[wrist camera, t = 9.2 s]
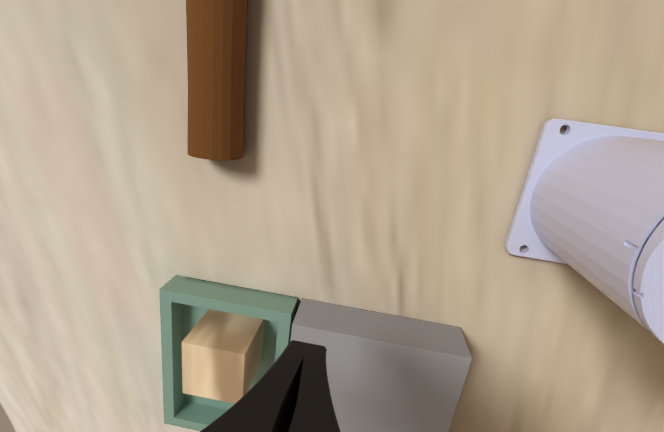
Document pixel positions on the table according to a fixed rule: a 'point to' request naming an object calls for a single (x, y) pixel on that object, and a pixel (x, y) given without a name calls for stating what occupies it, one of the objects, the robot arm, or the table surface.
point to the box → (181, 317)
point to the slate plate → (386, 367)
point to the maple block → (222, 356)
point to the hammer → (216, 78)
